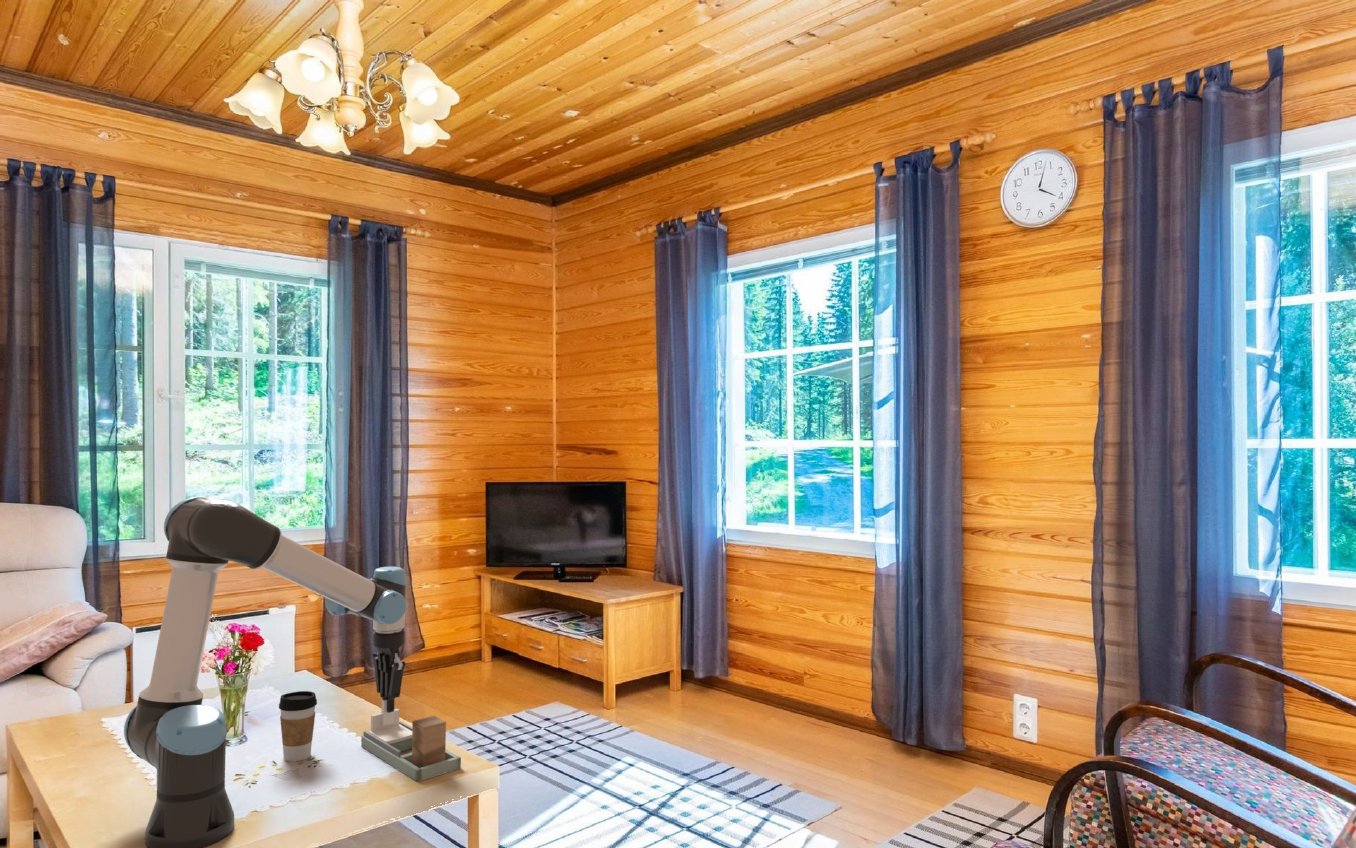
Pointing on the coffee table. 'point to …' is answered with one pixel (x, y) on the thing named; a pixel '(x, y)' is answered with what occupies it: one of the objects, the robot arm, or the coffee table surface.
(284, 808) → the coffee table surface
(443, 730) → the block
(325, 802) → the coffee table surface
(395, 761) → the tray
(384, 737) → the white l-shaped bracket
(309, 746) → the coffee cup
